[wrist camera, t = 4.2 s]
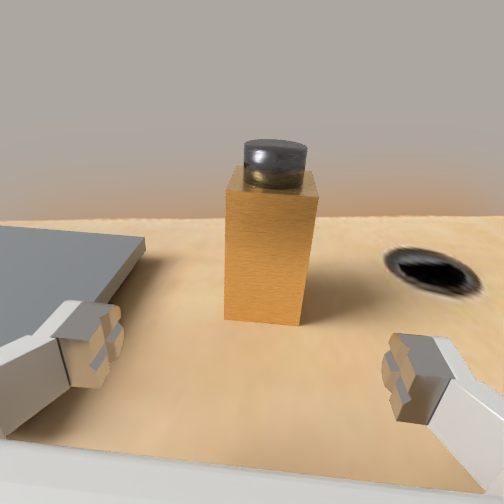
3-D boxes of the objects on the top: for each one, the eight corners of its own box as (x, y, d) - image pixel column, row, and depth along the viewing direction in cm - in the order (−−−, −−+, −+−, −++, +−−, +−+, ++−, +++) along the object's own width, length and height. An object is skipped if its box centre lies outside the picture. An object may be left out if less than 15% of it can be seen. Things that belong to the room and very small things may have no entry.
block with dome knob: (295, 283, 27) (315, 139, 22) (298, 325, 23) (324, 159, 17) (233, 278, 27) (237, 134, 22) (223, 319, 23) (226, 152, 17)
